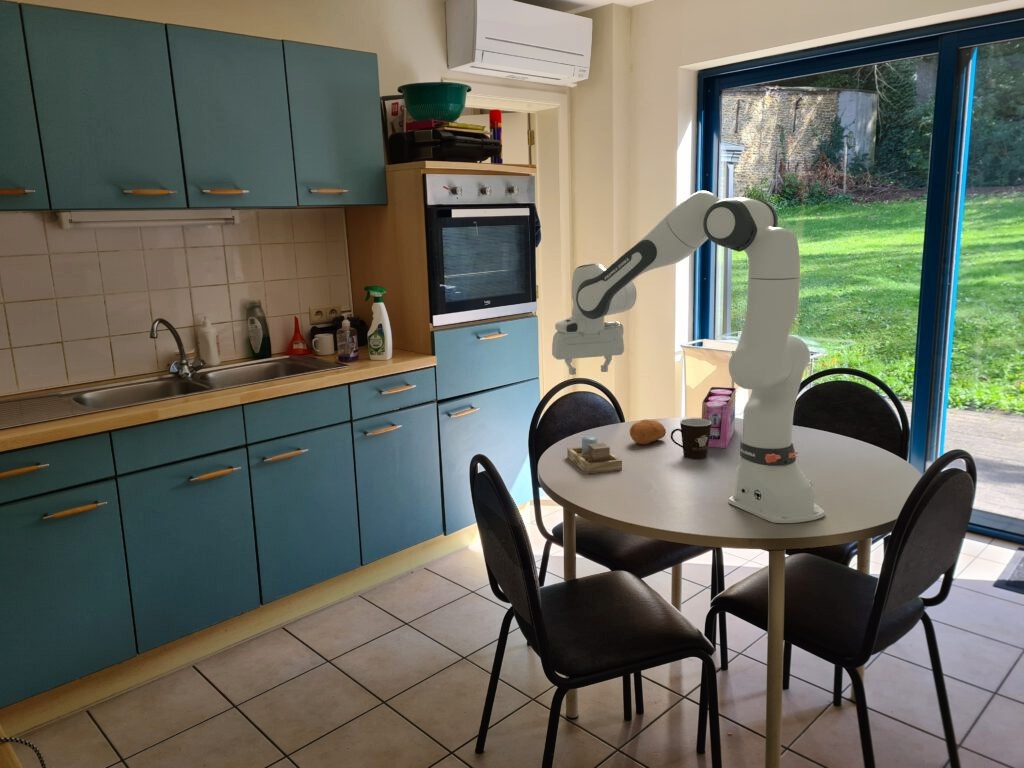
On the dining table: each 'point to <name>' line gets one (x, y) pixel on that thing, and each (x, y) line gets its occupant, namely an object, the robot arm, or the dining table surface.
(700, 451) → the coffee mug
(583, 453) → the grey capsule
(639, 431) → the potato
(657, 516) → the dining table surface
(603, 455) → the walnut block
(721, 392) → the gum box
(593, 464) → the wooden tray
